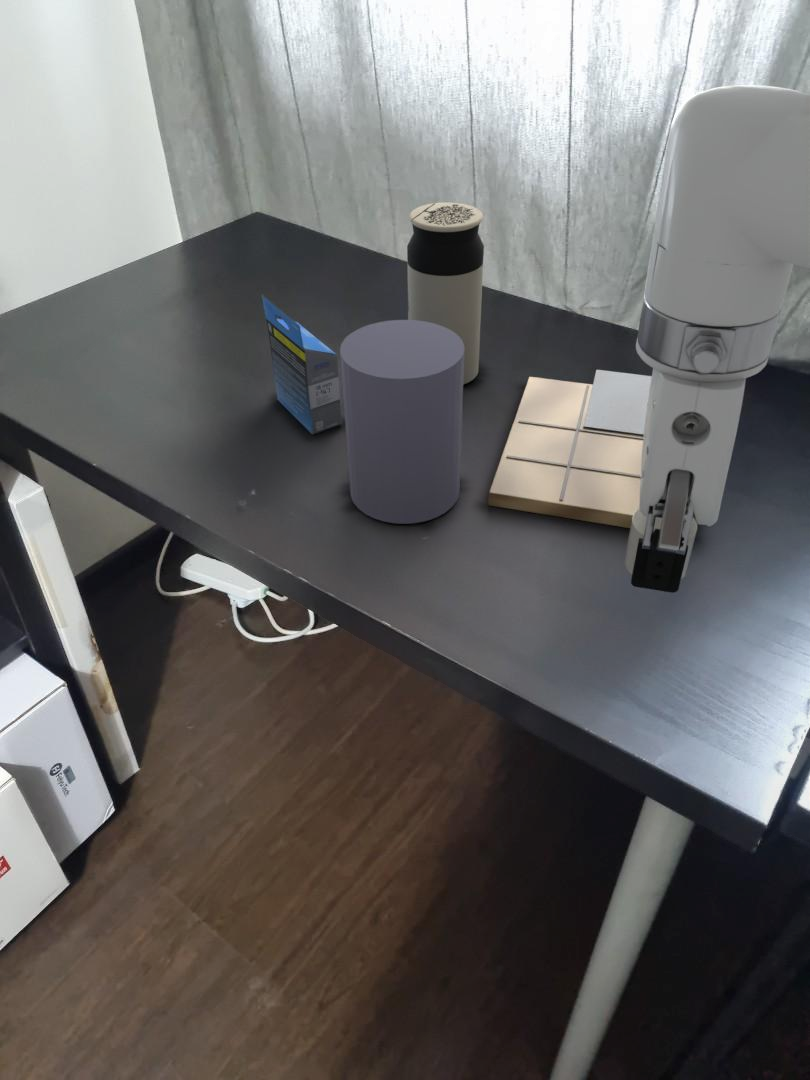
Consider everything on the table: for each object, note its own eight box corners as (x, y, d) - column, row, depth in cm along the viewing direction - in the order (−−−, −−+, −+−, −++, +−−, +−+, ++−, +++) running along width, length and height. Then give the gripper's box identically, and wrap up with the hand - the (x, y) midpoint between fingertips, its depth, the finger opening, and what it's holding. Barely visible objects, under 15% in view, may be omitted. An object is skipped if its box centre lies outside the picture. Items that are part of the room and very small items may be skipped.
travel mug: (491, 368, 96) (500, 210, 84) (453, 397, 91) (457, 234, 79) (434, 349, 100) (435, 196, 88) (395, 377, 95) (391, 218, 83)
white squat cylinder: (687, 550, 61) (698, 507, 59) (686, 590, 58) (697, 547, 55) (627, 541, 62) (634, 499, 60) (621, 580, 59) (629, 537, 56)
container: (474, 473, 80) (481, 330, 70) (436, 537, 73) (438, 388, 63) (376, 451, 83) (370, 312, 74) (331, 511, 76) (318, 365, 66)
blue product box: (344, 425, 87) (336, 316, 79) (311, 436, 86) (299, 326, 78) (306, 389, 93) (294, 284, 85) (274, 399, 91) (259, 293, 83)
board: (695, 395, 91) (699, 382, 89) (689, 538, 72) (693, 523, 71) (532, 375, 95) (533, 361, 93) (487, 505, 76) (488, 490, 75)
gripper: (782, 409, 41) (709, 657, 53) (767, 277, 53) (710, 501, 65) (627, 393, 43) (590, 636, 55) (648, 268, 55) (614, 489, 67)
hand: (656, 561), depth 60 cm, fingers closed on white squat cylinder, 4 cm apart
